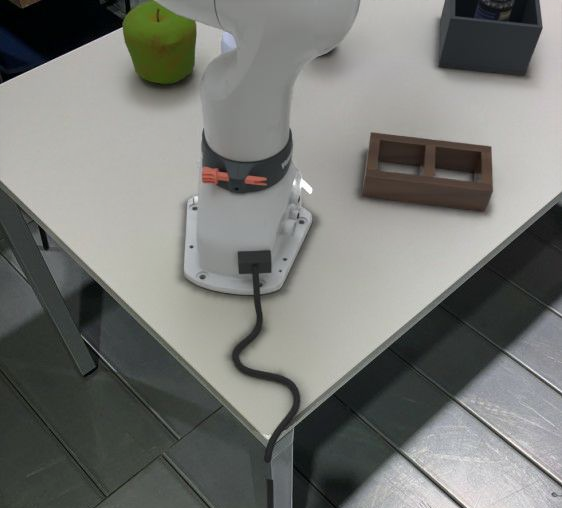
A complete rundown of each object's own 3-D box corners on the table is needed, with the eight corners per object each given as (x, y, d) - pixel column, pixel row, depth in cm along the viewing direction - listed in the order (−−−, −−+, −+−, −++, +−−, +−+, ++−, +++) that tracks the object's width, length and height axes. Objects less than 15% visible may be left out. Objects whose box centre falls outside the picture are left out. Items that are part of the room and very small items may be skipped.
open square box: (524, 76, 112) (542, 27, 105) (438, 66, 113) (450, 18, 106) (520, 28, 121) (537, -20, 113) (440, 20, 122) (451, -28, 114)
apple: (143, 49, 114) (132, -16, 105) (208, 57, 113) (202, -7, 104) (122, 89, 108) (108, 24, 98) (190, 99, 107) (182, 34, 97)
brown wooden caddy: (484, 211, 94) (493, 191, 91) (361, 196, 95) (365, 175, 92) (483, 167, 99) (491, 146, 96) (367, 153, 101) (370, 131, 97)
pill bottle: (492, 56, 114) (512, -6, 105) (461, 46, 116) (479, -17, 106) (504, 41, 117) (525, -22, 107) (474, 30, 118) (492, -32, 109)
